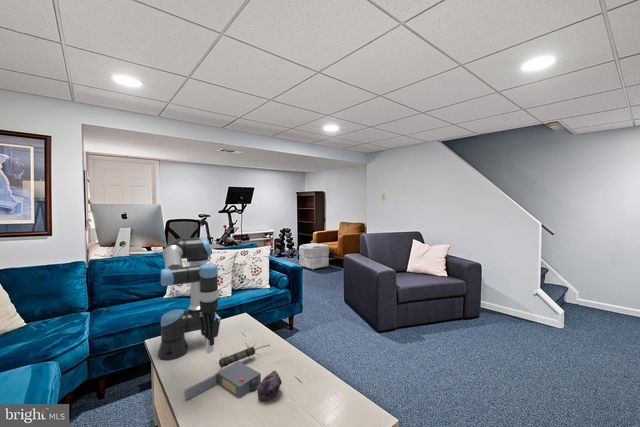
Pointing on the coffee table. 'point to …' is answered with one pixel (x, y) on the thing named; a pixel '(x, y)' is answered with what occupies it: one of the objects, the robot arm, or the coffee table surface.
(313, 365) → the coffee table surface
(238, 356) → the bomb
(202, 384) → the side door
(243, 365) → the camera body
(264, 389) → the rock
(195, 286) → the robot arm
